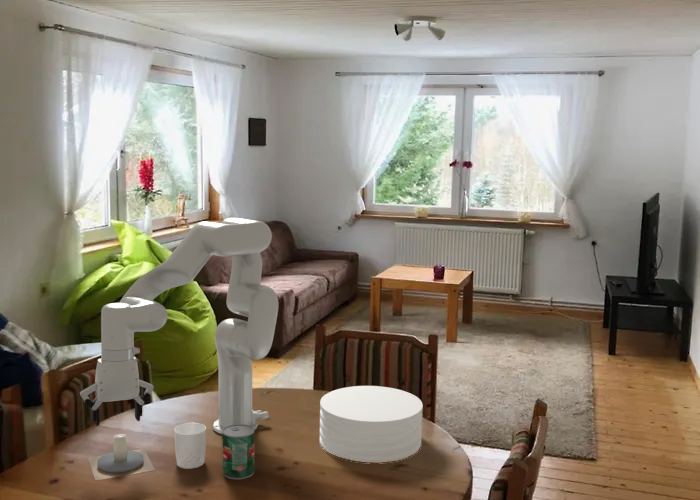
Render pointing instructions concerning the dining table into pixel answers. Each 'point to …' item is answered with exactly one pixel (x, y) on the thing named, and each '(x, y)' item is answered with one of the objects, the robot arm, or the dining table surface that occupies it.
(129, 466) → the lid
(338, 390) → the plate stack
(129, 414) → the dining table surface
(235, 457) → the canned tomato
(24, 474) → the dining table surface
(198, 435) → the white cup
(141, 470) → the cork mat
